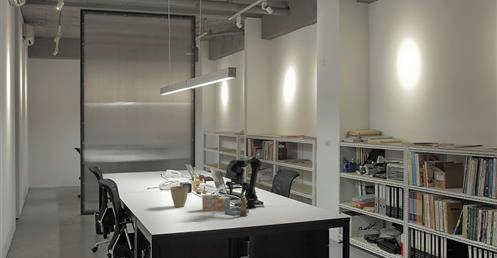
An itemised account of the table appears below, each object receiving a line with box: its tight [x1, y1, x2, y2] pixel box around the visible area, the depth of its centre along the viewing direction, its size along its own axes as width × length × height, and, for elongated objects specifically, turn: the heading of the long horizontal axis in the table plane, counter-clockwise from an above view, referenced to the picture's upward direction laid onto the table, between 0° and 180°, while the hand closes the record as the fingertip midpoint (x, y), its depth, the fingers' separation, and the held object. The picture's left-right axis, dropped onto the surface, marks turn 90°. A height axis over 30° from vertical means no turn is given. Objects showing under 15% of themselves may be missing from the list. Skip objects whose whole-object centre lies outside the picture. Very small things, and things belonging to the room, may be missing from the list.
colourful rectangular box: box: [201, 193, 231, 212], centre depth 382 cm, size 21×6×12 cm, turn 102°
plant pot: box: [170, 185, 189, 208], centre depth 395 cm, size 15×15×16 cm
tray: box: [224, 207, 250, 217], centre depth 367 cm, size 14×12×2 cm
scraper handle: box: [239, 196, 248, 218], centre depth 357 cm, size 6×6×14 cm
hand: (235, 195), depth 365 cm, fingers open, 9 cm apart
